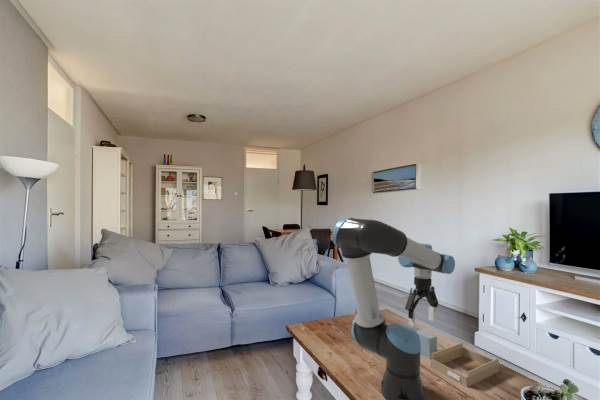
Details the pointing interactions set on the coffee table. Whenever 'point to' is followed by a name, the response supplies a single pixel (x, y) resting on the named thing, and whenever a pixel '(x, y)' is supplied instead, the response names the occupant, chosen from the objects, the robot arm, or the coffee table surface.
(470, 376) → the wooden tray
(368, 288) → the robot arm
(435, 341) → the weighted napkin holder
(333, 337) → the coffee table surface
